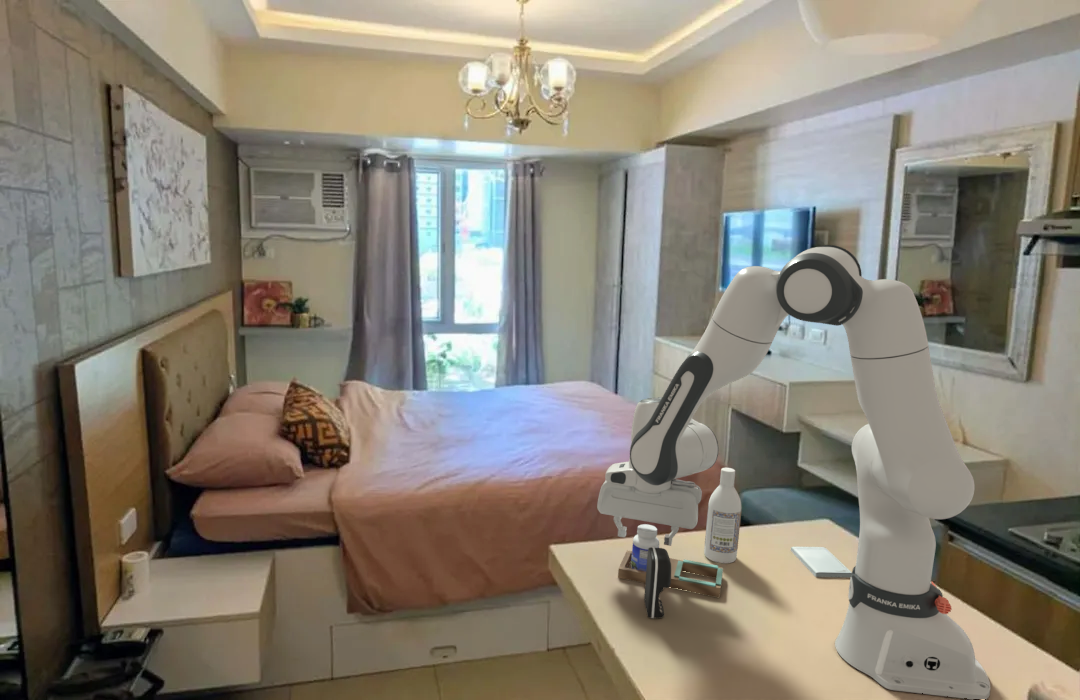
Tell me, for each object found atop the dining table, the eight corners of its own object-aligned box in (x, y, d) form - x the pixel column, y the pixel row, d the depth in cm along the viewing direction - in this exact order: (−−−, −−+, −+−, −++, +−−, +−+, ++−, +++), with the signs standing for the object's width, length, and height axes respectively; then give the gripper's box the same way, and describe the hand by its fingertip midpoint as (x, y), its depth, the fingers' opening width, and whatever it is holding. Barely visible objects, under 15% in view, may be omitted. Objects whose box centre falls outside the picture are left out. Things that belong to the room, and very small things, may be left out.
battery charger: (668, 621, 122) (673, 561, 121) (647, 619, 123) (652, 560, 121) (663, 601, 129) (668, 544, 128) (643, 599, 130) (647, 543, 128)
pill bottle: (629, 565, 143) (632, 521, 142) (655, 567, 143) (658, 523, 142) (631, 578, 138) (635, 532, 136) (658, 579, 138) (662, 534, 136)
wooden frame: (722, 577, 140) (723, 566, 140) (719, 597, 132) (720, 586, 131) (626, 559, 146) (627, 549, 146) (617, 577, 138) (618, 567, 137)
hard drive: (853, 573, 143) (825, 546, 155) (815, 572, 142) (790, 545, 154) (852, 580, 143) (825, 553, 155) (815, 579, 142) (790, 552, 155)
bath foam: (742, 563, 147) (751, 474, 144) (712, 565, 145) (721, 475, 142) (726, 549, 153) (735, 464, 150) (698, 550, 152) (706, 464, 149)
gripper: (704, 478, 137) (697, 543, 139) (604, 463, 143) (600, 525, 145) (701, 488, 131) (694, 556, 133) (597, 472, 137) (593, 537, 139)
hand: (644, 540), depth 139 cm, fingers open, 8 cm apart
